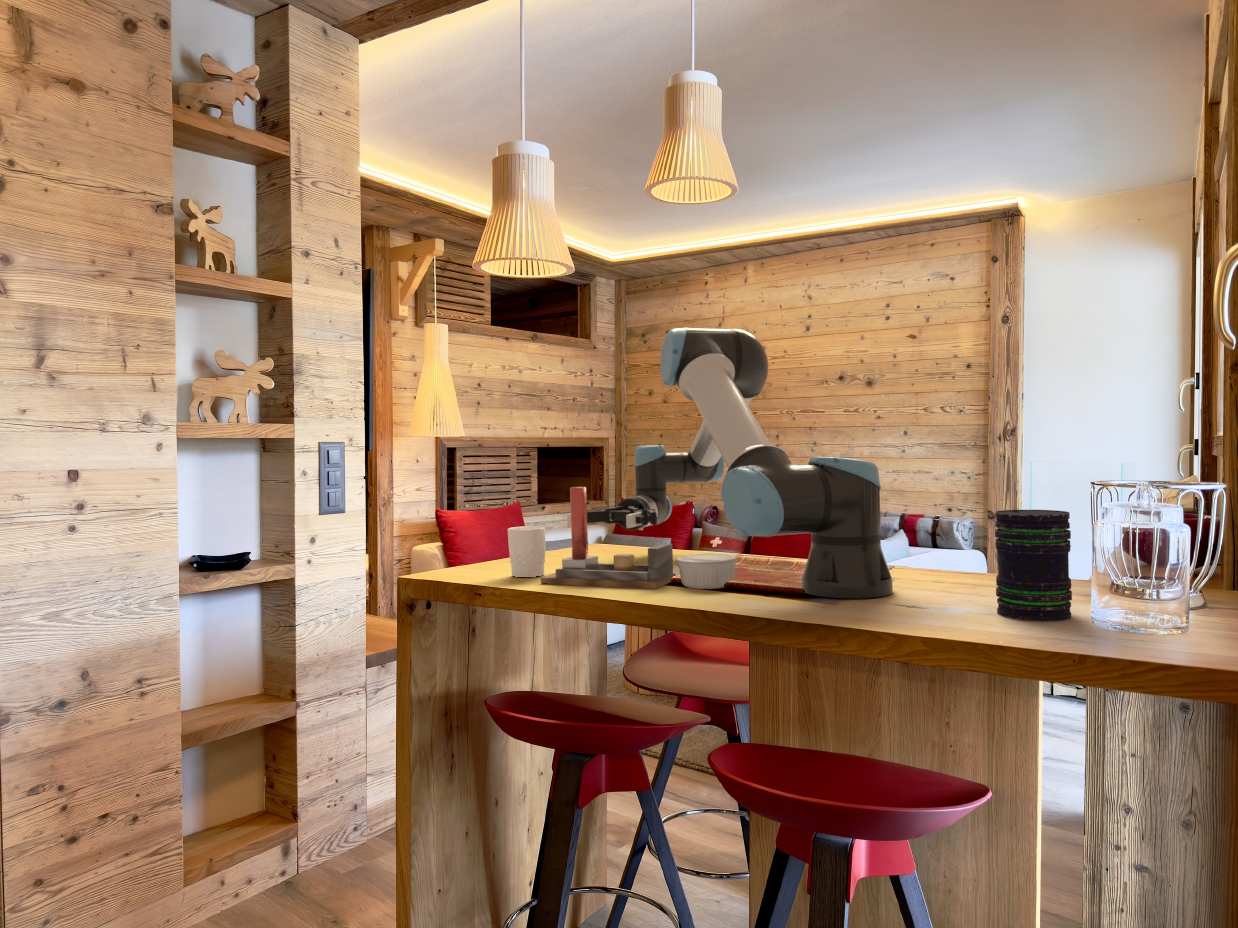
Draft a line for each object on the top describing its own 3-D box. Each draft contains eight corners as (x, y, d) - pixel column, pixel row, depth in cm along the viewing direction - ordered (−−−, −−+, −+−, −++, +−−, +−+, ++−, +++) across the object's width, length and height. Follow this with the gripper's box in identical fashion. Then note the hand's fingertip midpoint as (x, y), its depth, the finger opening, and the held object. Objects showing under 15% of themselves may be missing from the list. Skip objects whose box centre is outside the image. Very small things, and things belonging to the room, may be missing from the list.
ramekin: (676, 590, 146) (675, 561, 146) (678, 580, 157) (677, 553, 157) (738, 590, 145) (737, 560, 144) (736, 580, 156) (735, 552, 156)
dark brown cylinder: (1089, 617, 114) (1087, 512, 114) (1036, 624, 111) (1034, 516, 111) (1030, 605, 124) (1028, 508, 123) (981, 611, 120) (978, 511, 120)
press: (675, 579, 158) (674, 542, 157) (656, 588, 147) (654, 549, 147) (566, 575, 167) (565, 540, 167) (540, 583, 157) (539, 546, 157)
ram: (598, 571, 161) (595, 486, 161) (585, 575, 156) (582, 488, 156) (576, 570, 163) (573, 486, 163) (562, 574, 158) (559, 488, 158)
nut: (635, 577, 154) (634, 556, 154) (614, 578, 154) (613, 557, 154) (634, 573, 158) (633, 553, 158) (614, 574, 158) (613, 554, 158)
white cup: (550, 572, 171) (548, 525, 171) (542, 578, 164) (541, 529, 163) (513, 573, 172) (512, 526, 172) (504, 578, 164) (503, 530, 164)
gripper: (687, 529, 182) (654, 540, 163) (588, 528, 192) (545, 538, 173) (686, 496, 182) (653, 503, 163) (587, 496, 192) (544, 503, 173)
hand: (597, 521), depth 168 cm, fingers open, 13 cm apart
